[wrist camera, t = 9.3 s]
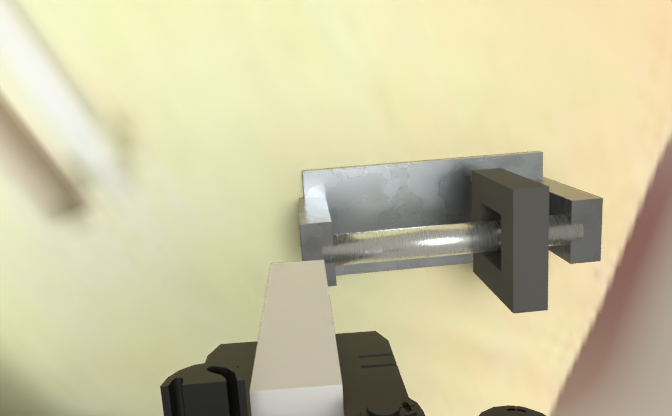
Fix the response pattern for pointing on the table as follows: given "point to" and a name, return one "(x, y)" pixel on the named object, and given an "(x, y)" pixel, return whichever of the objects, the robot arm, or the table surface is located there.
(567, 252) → the pipe rig
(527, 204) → the ring
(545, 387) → the table surface
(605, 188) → the table surface
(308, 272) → the robot arm
